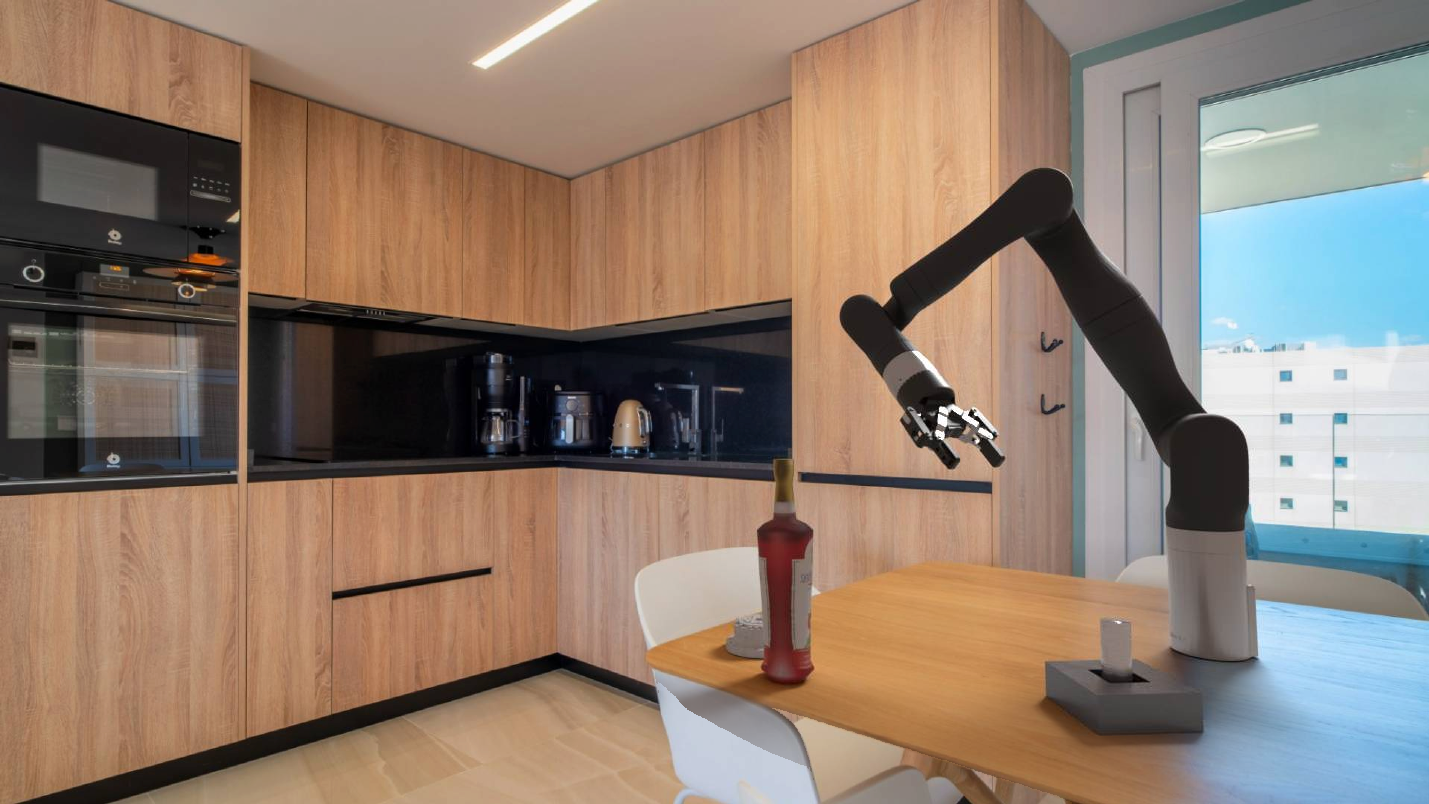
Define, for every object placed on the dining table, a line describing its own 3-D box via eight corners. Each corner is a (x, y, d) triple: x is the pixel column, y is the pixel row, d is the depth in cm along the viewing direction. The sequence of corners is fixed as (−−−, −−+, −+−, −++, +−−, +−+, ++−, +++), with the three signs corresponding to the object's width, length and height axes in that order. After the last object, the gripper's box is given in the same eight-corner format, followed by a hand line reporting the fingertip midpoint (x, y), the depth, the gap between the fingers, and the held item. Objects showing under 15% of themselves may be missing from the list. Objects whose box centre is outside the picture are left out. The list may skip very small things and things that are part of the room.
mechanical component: (720, 658, 101) (790, 662, 99) (719, 627, 101) (790, 629, 99) (732, 638, 111) (797, 641, 109) (731, 609, 111) (796, 612, 109)
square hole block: (1137, 693, 85) (1136, 658, 85) (1203, 731, 74) (1201, 692, 74) (1046, 695, 84) (1044, 661, 85) (1098, 734, 73) (1097, 695, 74)
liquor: (768, 665, 97) (764, 458, 98) (821, 671, 94) (817, 458, 95) (751, 683, 90) (748, 460, 91) (808, 690, 87) (804, 460, 89)
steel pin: (1123, 707, 81) (1120, 617, 81) (1140, 717, 78) (1136, 624, 78) (1097, 707, 81) (1094, 617, 81) (1112, 718, 78) (1109, 624, 78)
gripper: (892, 366, 104) (954, 446, 93) (964, 369, 110) (1029, 444, 100) (869, 404, 108) (926, 485, 98) (940, 405, 115) (1000, 480, 104)
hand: (978, 464), depth 99 cm, fingers open, 8 cm apart
